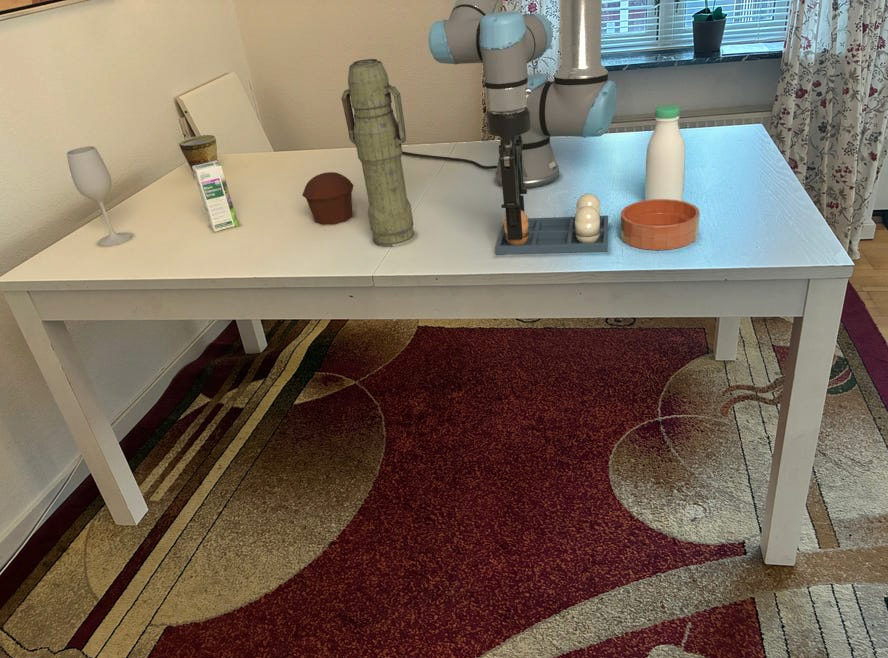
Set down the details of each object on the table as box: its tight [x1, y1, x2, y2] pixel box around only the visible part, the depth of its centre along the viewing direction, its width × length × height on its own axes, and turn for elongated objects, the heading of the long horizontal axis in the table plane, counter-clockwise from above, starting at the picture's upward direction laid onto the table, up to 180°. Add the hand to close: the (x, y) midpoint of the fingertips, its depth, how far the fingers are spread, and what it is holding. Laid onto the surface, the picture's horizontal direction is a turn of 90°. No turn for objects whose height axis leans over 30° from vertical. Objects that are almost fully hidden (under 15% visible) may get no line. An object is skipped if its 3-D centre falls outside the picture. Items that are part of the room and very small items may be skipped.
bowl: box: [620, 199, 701, 251], centre depth 139 cm, size 14×14×5 cm
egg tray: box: [495, 215, 609, 256], centre depth 144 cm, size 14×21×2 cm
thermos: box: [341, 58, 415, 247], centre depth 145 cm, size 9×12×35 cm
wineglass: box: [66, 145, 132, 247], centre depth 166 cm, size 8×8×21 cm
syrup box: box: [192, 159, 239, 232], centre depth 168 cm, size 6×6×14 cm
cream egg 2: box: [574, 206, 601, 243], centre depth 138 cm, size 5×5×8 cm
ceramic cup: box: [178, 134, 219, 177], centre depth 208 cm, size 13×10×10 cm
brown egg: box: [503, 210, 529, 245], centre depth 141 cm, size 5×5×8 cm
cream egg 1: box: [575, 193, 601, 216], centre depth 143 cm, size 5×5×8 cm
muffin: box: [301, 171, 354, 226], centre depth 166 cm, size 12×11×10 cm
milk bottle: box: [644, 104, 686, 201], centre depth 149 cm, size 8×8×20 cm
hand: (516, 233), depth 141 cm, fingers closed on brown egg, 4 cm apart
